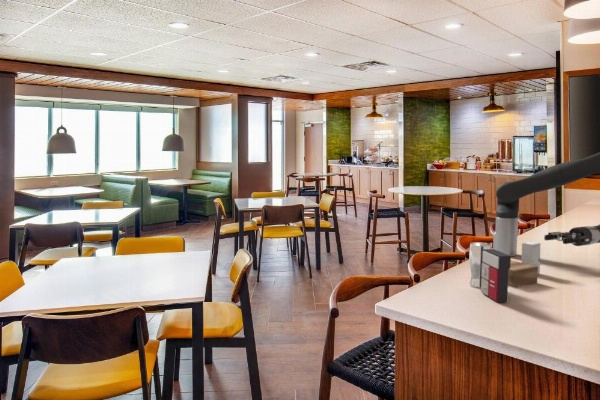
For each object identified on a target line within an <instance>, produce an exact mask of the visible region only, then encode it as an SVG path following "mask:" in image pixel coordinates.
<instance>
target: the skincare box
mask: <svg viewBox="0 0 600 400" xmlns="http://www.w3.org/2000/svg"><path fill="white" fill-rule="evenodd" d="M521 263H525V264H529V265H533V266H537V267H538V275H539V274H540V272H541V242H536V241H527V242H522V243H521Z"/></svg>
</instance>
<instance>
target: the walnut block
mask: <svg viewBox="0 0 600 400" xmlns="http://www.w3.org/2000/svg"><path fill="white" fill-rule="evenodd" d="M538 277H539V274H538V267H537V266H533V265H529V264H525V263H522V261H517V260H512V259H511V262H510V269H509V270H508V287H510V286H511V287H510V288H513V287H514V288H518V286H519V287H524V286H529V285H534V284H538Z"/></svg>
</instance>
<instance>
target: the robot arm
mask: <svg viewBox="0 0 600 400" xmlns="http://www.w3.org/2000/svg"><path fill="white" fill-rule="evenodd" d="M598 173H600V152H597V153H594V154H592V155H590V156H587V157H584V158H579V159H574V160H570V161H565V162H561V163H558V164H555V165H551V166H548V167H547V168H544V169H542V170H540V171H537V172H535V173H533V174H531V175H530V176H528V177H525V178H521V179H518V180H517V179H516V180H512V181H506V182H503V183H501V184H499V185H498V187H497V188H496V190H495V195H496V196H495V197H496V198H497V199H496V210H495V230H494V232H493V235H492V236H493V237H492V238H493V239H492V241H493V242H492V249H495V250H497V251H500V252H502V253H504V254H507V255H509V256H511V257H515V256H517V252H518V251H517V250H518V232H519V231H518V229H519V228H518V227H519V224H518V223H519V210H520V199H521V198H524V197H526V196H528V195H532V194H535V193H540V192H545V191H548V190H552V189H556V188H560V187H563V186H566V185H569V184H571V183H574V182H576V181H579V180H581V179H585V178H586V177H589V176H591V175H595V174H598ZM543 239H544V241H558V242H562V244H564V245H569V244H571V245H573V246H575V247H580V246H581V247H583V246H590V245H594V244H600V224H598V225H593V226H591V225H590V226H589V225H587V226H576V227H573V228H571V229H570V230H569V231H564V232H561V231H554V232H553V231H552V232H550V231H549V232H548V233H547V234H544V238H543Z"/></svg>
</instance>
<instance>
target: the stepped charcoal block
mask: <svg viewBox="0 0 600 400" xmlns="http://www.w3.org/2000/svg"><path fill="white" fill-rule="evenodd" d="M511 257H512V256H509V255H507V254H504V253H502V252H500V251H497V250H495V249H493V248H490V249H484V250H483V263H482V279H481V288H480V292H481V293H482V294H483V293H484V294H483V295H484V296H486V295H487V297H488V296H489V297H488V298H489V299H491V298H492V299H491V300H492V301H494V300H495V302H496V301H497V302H498V304H502V303H503V304H505V303H504V302H507V303H508V293H509V292H508V288H509V286H508V270H509V269H510V262H511V260H512V259H511ZM497 302H496V303H497Z"/></svg>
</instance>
